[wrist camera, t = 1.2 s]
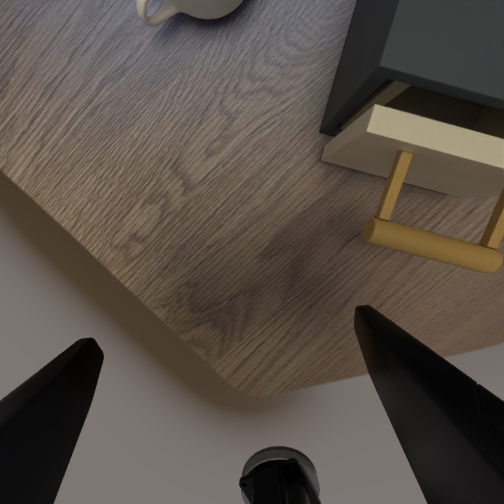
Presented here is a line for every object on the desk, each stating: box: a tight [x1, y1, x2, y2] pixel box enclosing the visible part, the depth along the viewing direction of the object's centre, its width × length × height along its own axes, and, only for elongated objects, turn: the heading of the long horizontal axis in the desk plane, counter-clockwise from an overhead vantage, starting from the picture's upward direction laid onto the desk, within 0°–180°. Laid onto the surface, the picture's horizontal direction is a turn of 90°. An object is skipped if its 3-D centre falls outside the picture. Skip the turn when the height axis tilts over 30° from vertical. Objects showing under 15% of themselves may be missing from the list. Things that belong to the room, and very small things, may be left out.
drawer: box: [321, 79, 504, 274], centre depth 16 cm, size 17×11×9 cm, turn 166°
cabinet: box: [319, 0, 504, 137], centre depth 15 cm, size 14×13×11 cm
